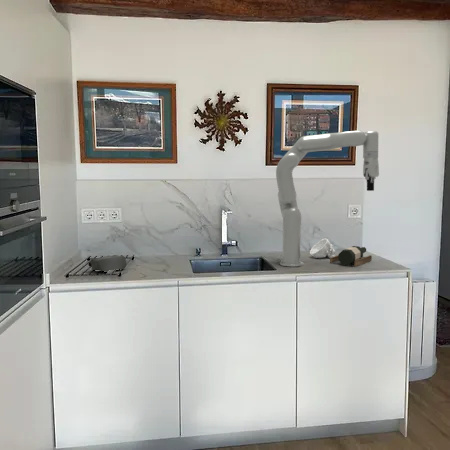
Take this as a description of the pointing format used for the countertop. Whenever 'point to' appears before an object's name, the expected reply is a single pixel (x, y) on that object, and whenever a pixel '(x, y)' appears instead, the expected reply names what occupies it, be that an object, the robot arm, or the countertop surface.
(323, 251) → the skull bowl
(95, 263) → the grey rounded piece
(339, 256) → the wine bottle
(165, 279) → the countertop surface
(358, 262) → the cradle
